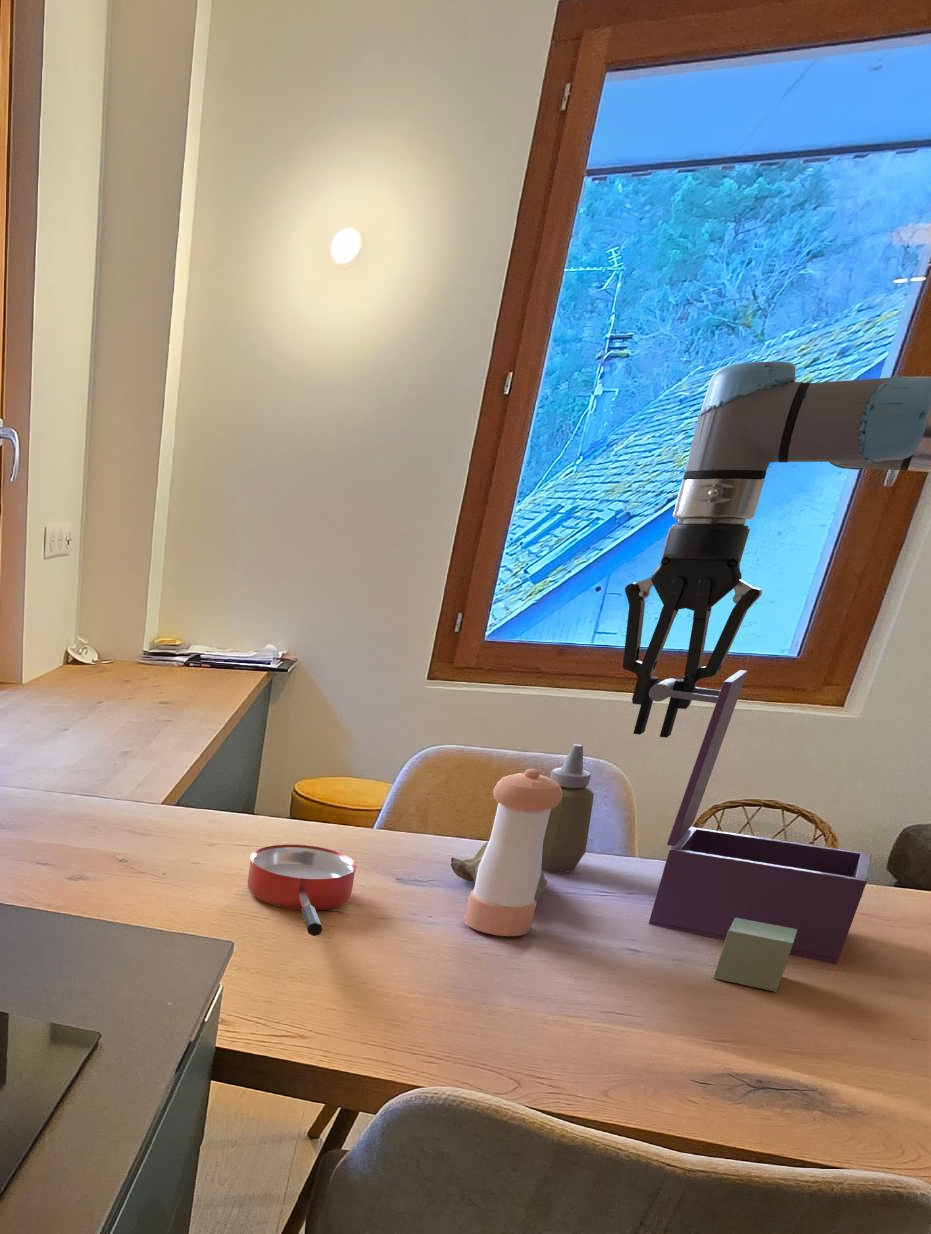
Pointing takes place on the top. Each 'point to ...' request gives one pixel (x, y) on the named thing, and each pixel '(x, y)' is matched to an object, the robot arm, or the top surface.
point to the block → (755, 954)
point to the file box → (761, 889)
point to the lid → (710, 743)
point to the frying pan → (301, 879)
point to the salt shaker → (513, 855)
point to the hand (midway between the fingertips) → (651, 733)
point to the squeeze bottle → (568, 816)
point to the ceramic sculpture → (470, 867)
